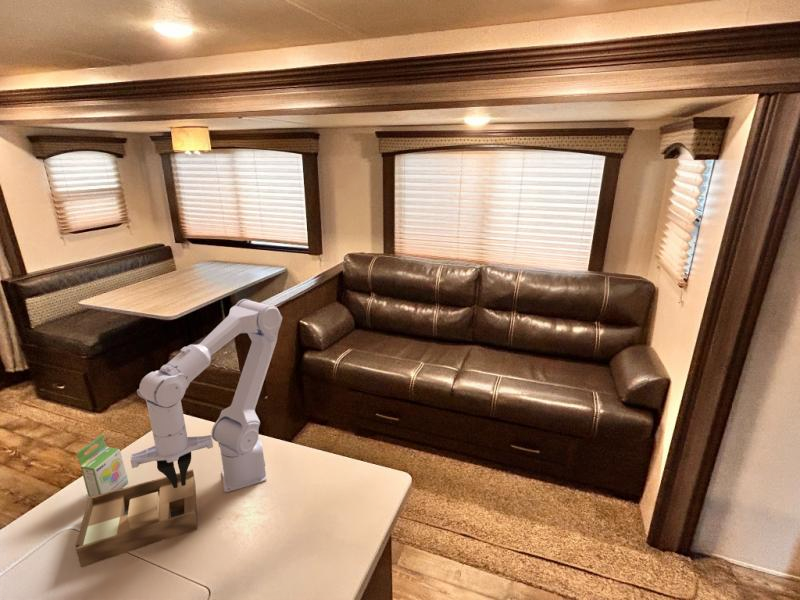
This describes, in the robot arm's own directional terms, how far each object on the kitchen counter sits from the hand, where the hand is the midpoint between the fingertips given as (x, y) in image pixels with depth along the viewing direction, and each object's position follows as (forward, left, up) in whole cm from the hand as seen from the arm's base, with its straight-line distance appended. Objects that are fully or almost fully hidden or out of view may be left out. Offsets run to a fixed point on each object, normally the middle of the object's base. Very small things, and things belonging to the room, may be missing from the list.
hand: (179, 483), depth 87 cm
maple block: (+7, 0, -6) cm, 9 cm away
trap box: (+8, -3, -9) cm, 13 cm away
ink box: (+16, -16, -10) cm, 25 cm away
